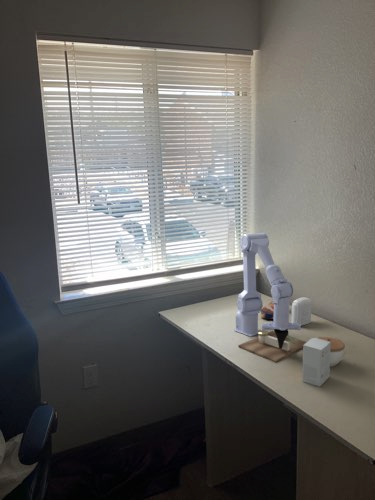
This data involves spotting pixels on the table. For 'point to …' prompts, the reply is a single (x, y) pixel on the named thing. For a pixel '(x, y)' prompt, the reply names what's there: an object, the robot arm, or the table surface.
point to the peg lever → (271, 340)
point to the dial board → (272, 348)
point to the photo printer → (301, 311)
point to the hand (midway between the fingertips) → (280, 347)
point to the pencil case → (268, 311)
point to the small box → (316, 361)
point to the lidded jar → (335, 350)
